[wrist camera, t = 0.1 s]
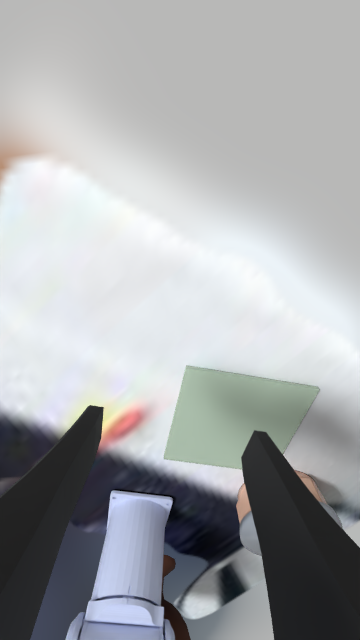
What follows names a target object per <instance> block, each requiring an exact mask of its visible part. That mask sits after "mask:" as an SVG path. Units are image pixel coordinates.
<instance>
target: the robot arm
mask: <svg viewBox="0 0 360 640" xmlns="http://www.w3.org/2000/svg"><path fill="white" fill-rule="evenodd" d="M103 409H104V407H98V406H91V405H90V406H88V407H87V408H86V410H85V411H84V412H83V414H82V415H81V416H80V417H79V418H78V420H77V421H76V422H75V423H74V424H73V426H72V427H71V428H70V429H69V430H68V431H67V432H66V433H65V435H64V436H63V437H62V438H61V439H60V440H59V441H58V442H57V443H56V444H55V445H54V446H53V447H52V448H51V449H50V450H49V451H48V452H47V453H46V454H45V455H44V456H43V457H42V458H41V459H40V460H39V461H38V462H37V463H36V464H35V465H34V466H33V467H32V468H31V469H30V470H29V471H28V472H27V473H26V474H25V475H24V476H23V477H21V478H20V479H19V480H18V481H17V482H16V483H15V484H14V485H12V486H11V487H10V488H9V489H8V490H7V491H6V492H5V493H3V494H2V495H1V496H0V640H30V638H31V635H32V632H33V628H34V625H35V622H36V619H37V616H38V613H39V610H40V607H41V603H42V600H43V597H44V594H45V591H46V587H47V585H48V582H49V579H50V576H51V572H52V569H53V566H54V563H55V560H56V557H57V554H58V551H59V548H60V545H61V542H62V539H63V536H64V533H65V531H66V528H67V525H68V523H69V520H70V518H71V515H72V513H73V511H74V508H75V506H76V503H77V501H78V499H79V496H80V494H81V491H82V489H83V487H84V484H85V482H86V479H87V477H88V475H89V472H90V470H91V467H92V465H93V462H94V459H95V456H96V453H97V450H98V446H99V443H100V440H101V433H102V421H103ZM241 461H242V470H243V477H244V483H245V487H246V491H247V496H248V500H249V504H250V508H251V512H252V516H253V520H254V524H255V528H256V532H257V536H258V540H259V545H260V550H261V554H262V560H263V566H264V572H265V578H266V584H267V591H268V597H269V604H270V611H271V617H272V625H273V633H274V640H360V548H359V547H358V546H357V544H356V543H355V542H354V541H353V540H352V539H351V538H350V537H349V536H348V535H347V534H346V533H345V531H344V530H343V529H342V528H341V527H340V526H339V525H338V524H337V523H336V521H335V520H334V519H333V518H332V517H331V516H330V515H329V513H328V512H327V511H326V510H325V509H324V508H323V506H322V505H321V504H320V503H319V501H318V500H317V499H316V498H315V497H314V495H313V494H312V493H311V492H310V490H309V489H308V488H307V487H306V485H305V484H304V483H303V481H302V480H301V479H300V477H299V476H298V475H297V473H296V472H295V471H294V469H293V468H292V467H291V465H290V464H289V463H288V461H287V460H286V459H285V457H284V456H283V454H282V453H281V452H280V450H279V449H278V447H277V446H276V445H275V443H274V442H273V440H272V439H271V438H270V436H269V435H268V434H267V432H263V431H256V430H254V432H253V434H252V436H251V438H250V440H249V442H248V444H247V446H246V448H245V450H244V453H243V455H242V457H241ZM172 503H173V498H171V497H166V496H158V495H150V494H141V493H133V492H124V491H116V490H114V491H112V492H111V496H110V505H109V514H108V523H107V534H106V538H105V542H104V547H103V551H102V555H101V560H100V564H99V568H98V573H97V577H96V581H95V585H94V590H93V594H92V598H91V600H90V601H89V603H88V607H87V611H86V615H85V613H83V612H81V613H79V614H78V616H77V618H75V619H74V620H73V622H72V623H71V625H70V628H69V631H68V634H67V637H66V640H175V635H174V631H173V629H172V627H171V625H170V622H169V620H167V619H164V607H161V591H162V572H163V553H164V535H165V526H166V522H167V519H168V516H169V513H170V510H171V506H172Z"/></svg>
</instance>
